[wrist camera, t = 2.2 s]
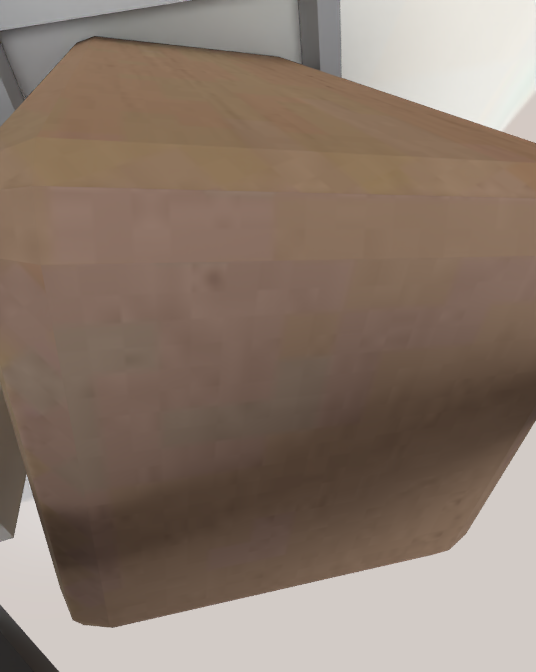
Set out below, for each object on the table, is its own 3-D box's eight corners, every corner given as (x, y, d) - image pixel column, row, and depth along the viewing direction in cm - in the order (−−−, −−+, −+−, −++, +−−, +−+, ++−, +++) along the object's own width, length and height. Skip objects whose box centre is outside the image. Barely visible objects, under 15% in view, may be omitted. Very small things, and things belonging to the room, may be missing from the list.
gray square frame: (93, 313, 27) (91, 337, 25) (-44, 4, 18) (-63, 4, 16) (329, 255, 29) (345, 273, 27) (316, -50, 20) (338, -55, 18)
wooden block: (269, 248, 28) (468, 563, 12) (95, 250, 25) (62, 661, 9) (292, 56, 22) (716, 188, 7) (70, 32, 19) (-112, 158, 4)
